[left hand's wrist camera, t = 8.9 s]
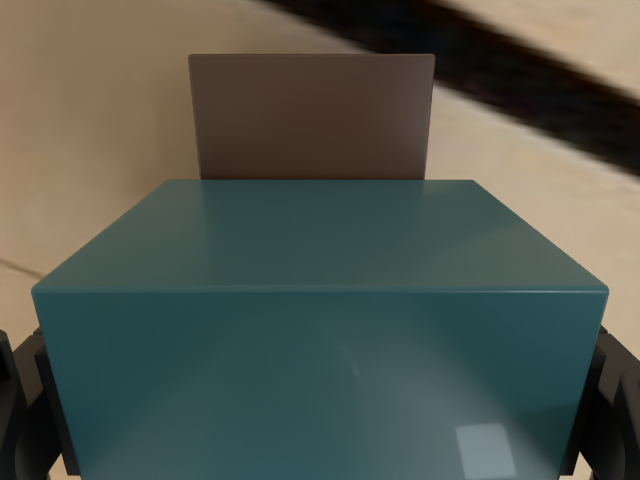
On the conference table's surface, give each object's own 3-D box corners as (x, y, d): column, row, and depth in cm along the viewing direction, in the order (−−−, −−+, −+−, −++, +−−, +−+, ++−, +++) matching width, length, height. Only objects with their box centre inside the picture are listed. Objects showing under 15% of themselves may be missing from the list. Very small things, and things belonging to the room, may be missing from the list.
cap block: (166, 178, 12) (26, 287, 6) (474, 179, 12) (613, 287, 6) (190, 369, 14) (104, 574, 8) (449, 368, 14) (535, 575, 8)
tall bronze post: (225, 55, 15) (186, 54, 11) (400, 55, 16) (436, 54, 11) (263, 584, 26) (251, 698, 21) (368, 583, 26) (379, 697, 21)
